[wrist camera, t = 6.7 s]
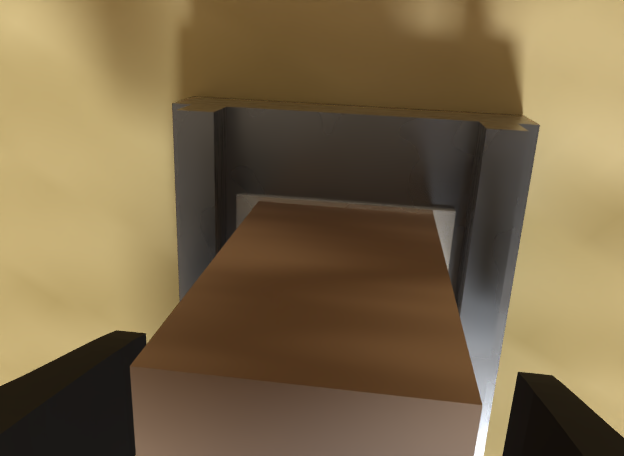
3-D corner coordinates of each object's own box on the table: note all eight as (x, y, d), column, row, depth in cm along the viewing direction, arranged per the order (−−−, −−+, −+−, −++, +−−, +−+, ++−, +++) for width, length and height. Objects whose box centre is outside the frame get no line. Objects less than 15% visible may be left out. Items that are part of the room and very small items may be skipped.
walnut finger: (433, 214, 13) (482, 405, 6) (408, 422, 15) (426, 741, 8) (258, 201, 13) (130, 365, 7) (255, 404, 15) (153, 693, 8)
